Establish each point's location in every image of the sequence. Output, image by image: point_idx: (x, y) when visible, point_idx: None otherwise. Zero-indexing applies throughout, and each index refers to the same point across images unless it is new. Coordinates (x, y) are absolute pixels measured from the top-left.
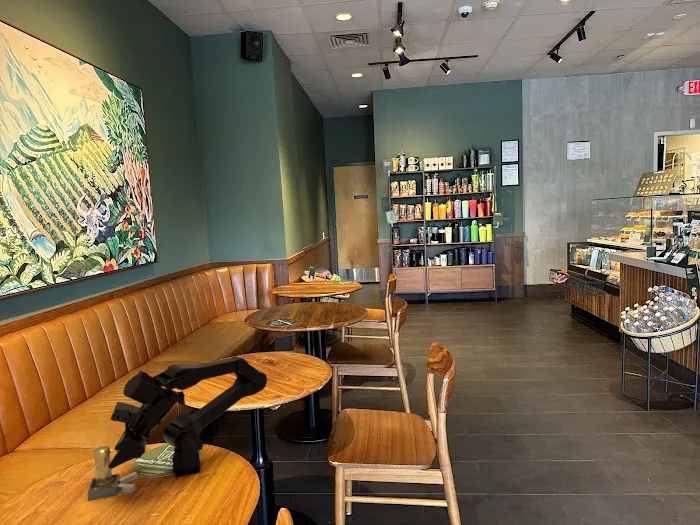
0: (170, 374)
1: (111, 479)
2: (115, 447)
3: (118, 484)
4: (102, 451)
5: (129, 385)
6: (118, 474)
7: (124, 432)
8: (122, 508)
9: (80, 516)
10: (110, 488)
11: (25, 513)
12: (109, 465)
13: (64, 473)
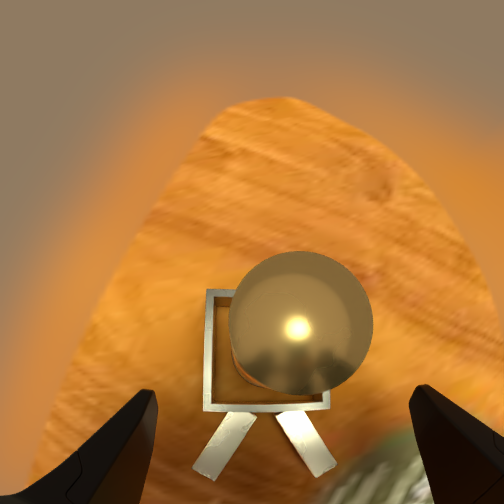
0: None
1: (257, 385)
2: (422, 394)
3: (248, 413)
4: (251, 335)
5: None
6: (319, 405)
7: (495, 469)
8: None
9: (123, 286)
10: (203, 385)
11: (230, 134)
12: (133, 398)
13: (429, 194)
